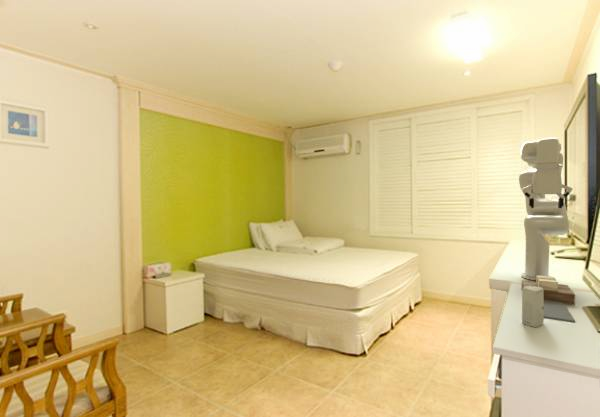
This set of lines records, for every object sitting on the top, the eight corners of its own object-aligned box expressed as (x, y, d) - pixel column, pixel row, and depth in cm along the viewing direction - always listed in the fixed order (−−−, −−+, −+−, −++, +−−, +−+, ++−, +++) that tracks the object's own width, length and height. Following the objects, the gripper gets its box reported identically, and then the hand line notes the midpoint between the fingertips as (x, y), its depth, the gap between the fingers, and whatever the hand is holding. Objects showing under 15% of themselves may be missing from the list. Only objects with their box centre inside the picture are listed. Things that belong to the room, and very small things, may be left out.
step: (521, 289, 145) (521, 280, 145) (567, 294, 137) (567, 285, 137) (524, 298, 133) (524, 288, 133) (574, 304, 125) (575, 294, 125)
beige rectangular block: (536, 283, 140) (536, 275, 139) (553, 285, 137) (553, 276, 136) (539, 289, 132) (539, 280, 132) (557, 291, 129) (557, 282, 129)
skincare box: (536, 328, 105) (537, 291, 104) (520, 323, 109) (521, 287, 108) (544, 323, 108) (545, 287, 108) (528, 319, 112) (529, 284, 111)
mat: (525, 298, 132) (526, 297, 132) (563, 303, 126) (563, 302, 126) (531, 315, 115) (531, 314, 115) (575, 322, 109) (575, 320, 109)
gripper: (570, 167, 137) (569, 207, 138) (521, 169, 145) (520, 207, 146) (575, 166, 130) (574, 208, 131) (523, 168, 139) (522, 208, 140)
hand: (545, 207), depth 139 cm, fingers open, 9 cm apart
